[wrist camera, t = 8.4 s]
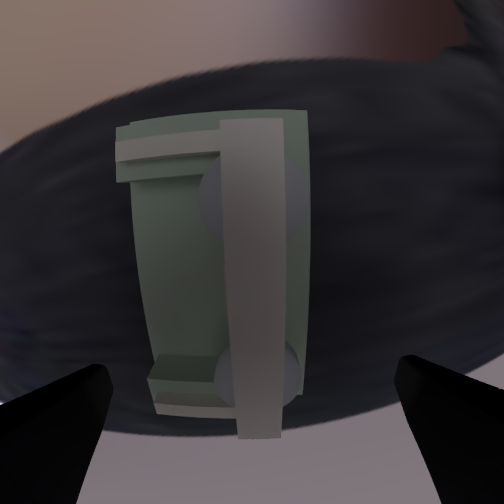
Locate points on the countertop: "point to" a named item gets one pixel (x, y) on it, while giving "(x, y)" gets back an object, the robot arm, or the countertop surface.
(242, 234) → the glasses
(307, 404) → the countertop surface
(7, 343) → the countertop surface
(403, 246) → the countertop surface
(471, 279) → the countertop surface
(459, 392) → the robot arm
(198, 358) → the stand
